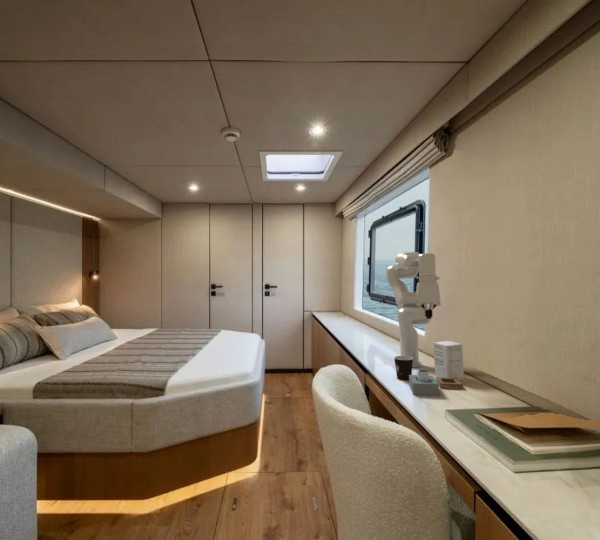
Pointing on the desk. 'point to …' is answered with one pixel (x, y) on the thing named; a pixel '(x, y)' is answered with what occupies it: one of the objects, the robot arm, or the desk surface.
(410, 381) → the port
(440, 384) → the brown wooden square base
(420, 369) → the plug
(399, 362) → the coffee mug
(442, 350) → the supplement box
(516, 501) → the desk surface
